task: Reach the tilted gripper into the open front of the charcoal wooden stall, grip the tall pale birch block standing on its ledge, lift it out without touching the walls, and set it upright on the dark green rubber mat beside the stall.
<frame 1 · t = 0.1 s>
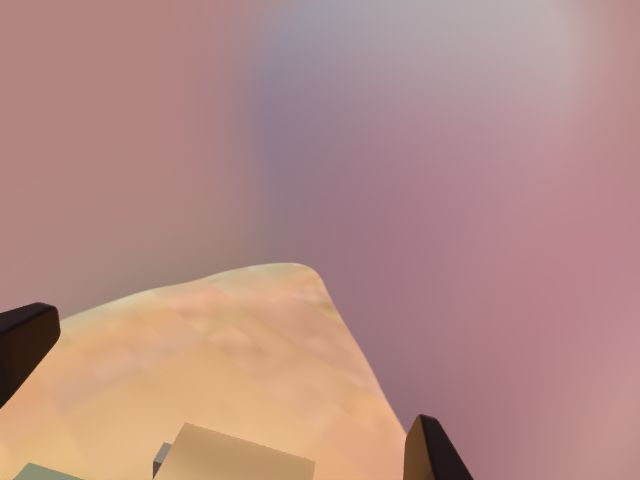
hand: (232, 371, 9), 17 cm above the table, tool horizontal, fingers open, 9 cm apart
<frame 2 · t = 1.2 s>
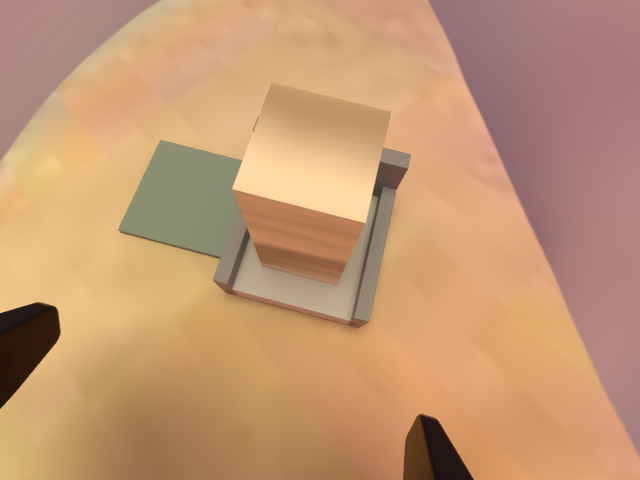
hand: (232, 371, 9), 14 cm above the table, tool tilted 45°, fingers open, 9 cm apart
mat: (191, 198, 25), on the table
stall: (308, 250, 24), on the table
birch block: (309, 240, 22), point 2 cm above the table, touching stall
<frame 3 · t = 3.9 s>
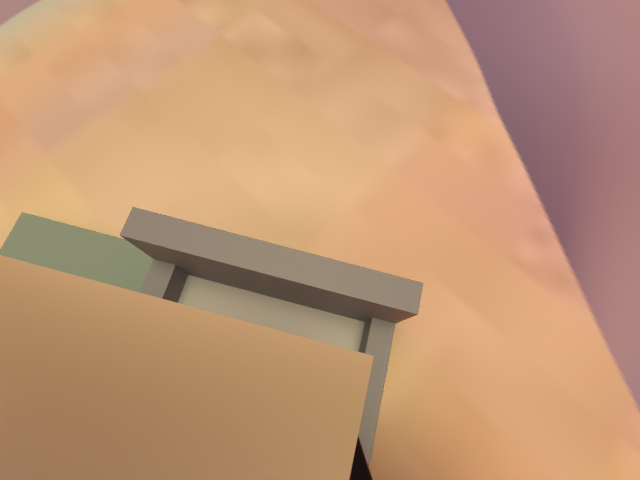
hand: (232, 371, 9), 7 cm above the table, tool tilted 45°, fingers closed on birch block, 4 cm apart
mat: (64, 310, 15), on the table
stall: (250, 403, 14), on the table
birch block: (242, 409, 13), point 2 cm above the table, touching gripper, stall
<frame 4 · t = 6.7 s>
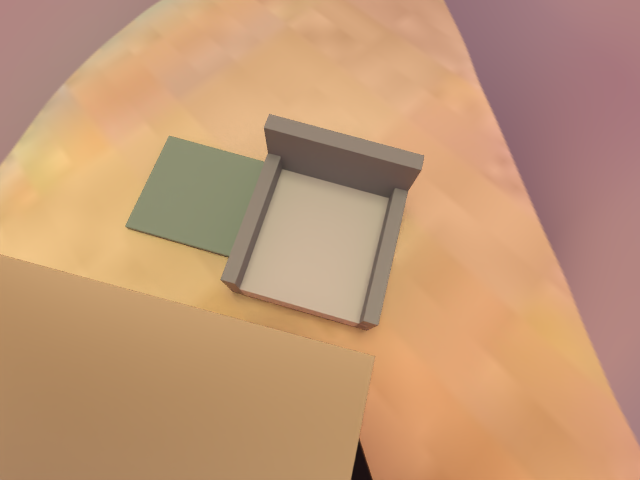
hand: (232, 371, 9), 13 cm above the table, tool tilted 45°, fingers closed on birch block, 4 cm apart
mat: (199, 195, 24), on the table
stall: (316, 250, 24), on the table
birch block: (242, 409, 13), point 9 cm above the table, touching gripper
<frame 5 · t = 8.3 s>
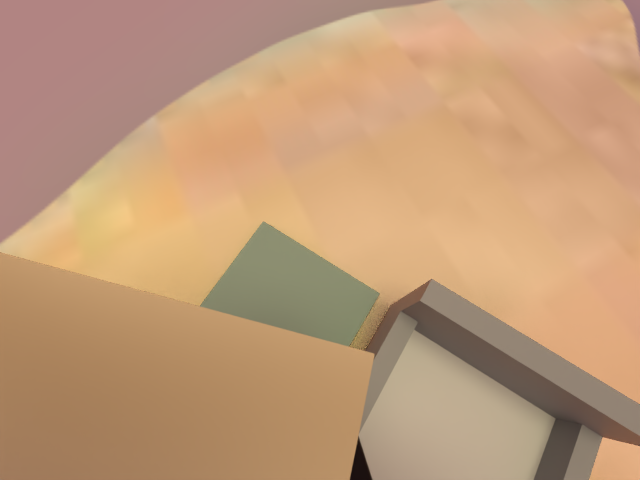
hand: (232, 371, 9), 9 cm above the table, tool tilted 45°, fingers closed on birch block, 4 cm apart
mat: (281, 316, 18), on the table
stall: (422, 450, 16), on the table
birch block: (242, 409, 13), point 4 cm above the table, touching gripper
when the fingers open (6 cm above the table, at t = 9.5 s): birch block drops 1 cm, resting on mat.
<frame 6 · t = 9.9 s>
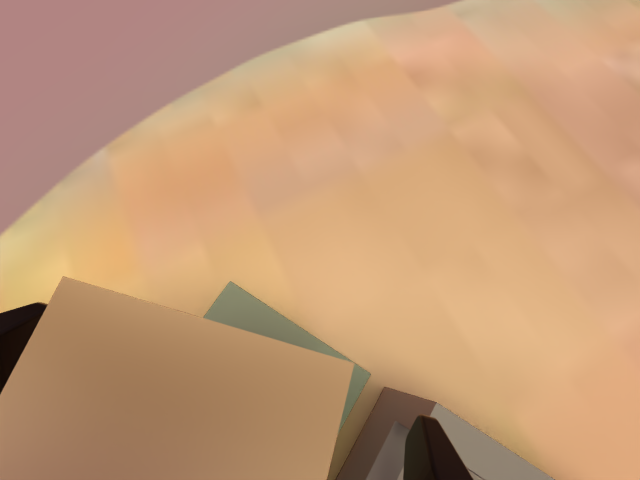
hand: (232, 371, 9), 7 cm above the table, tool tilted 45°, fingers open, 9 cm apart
mat: (249, 402, 14), on the table
birch block: (248, 404, 14), resting on mat
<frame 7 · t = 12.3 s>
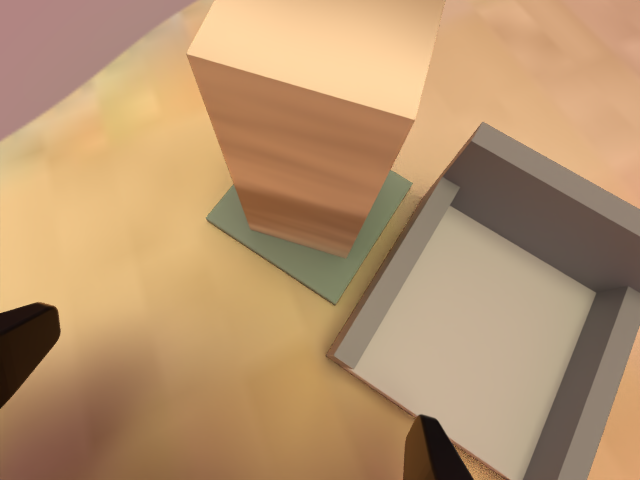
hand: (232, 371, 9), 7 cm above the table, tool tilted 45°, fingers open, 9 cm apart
mat: (312, 203, 17), on the table
stall: (456, 332, 16), on the table
birch block: (312, 200, 17), resting on mat
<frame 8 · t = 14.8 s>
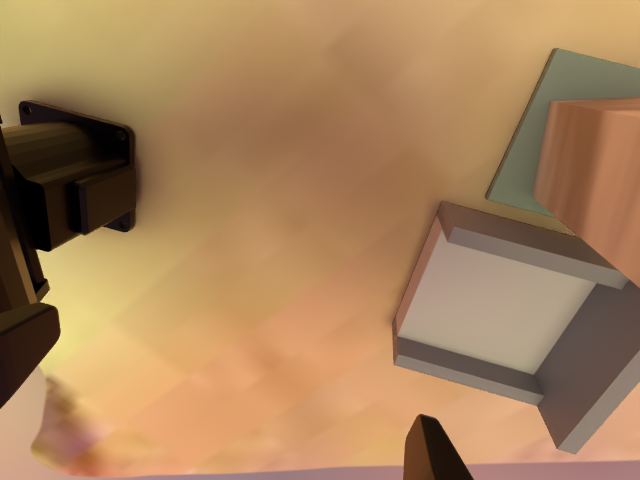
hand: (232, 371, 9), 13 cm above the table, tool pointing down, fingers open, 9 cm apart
mat: (589, 148, 17), on the table
stall: (481, 287, 21), on the table
birch block: (593, 150, 17), resting on mat
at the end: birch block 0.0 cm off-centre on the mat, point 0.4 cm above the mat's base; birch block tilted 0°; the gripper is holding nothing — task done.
